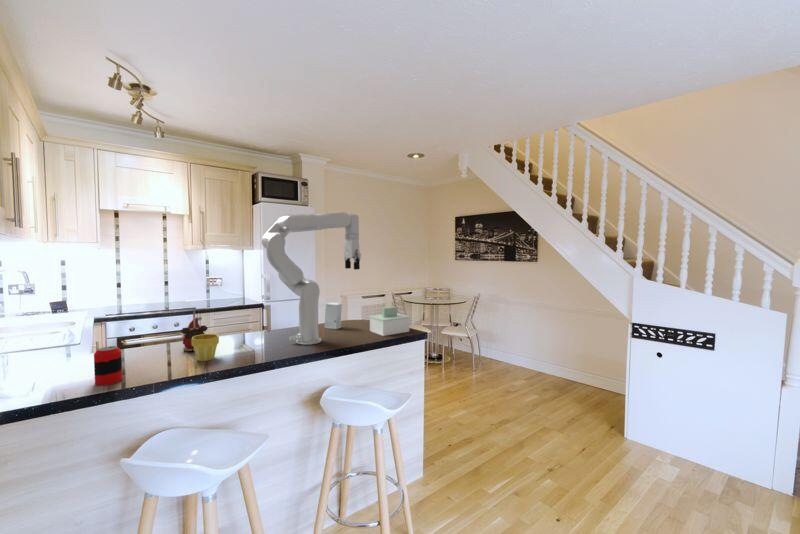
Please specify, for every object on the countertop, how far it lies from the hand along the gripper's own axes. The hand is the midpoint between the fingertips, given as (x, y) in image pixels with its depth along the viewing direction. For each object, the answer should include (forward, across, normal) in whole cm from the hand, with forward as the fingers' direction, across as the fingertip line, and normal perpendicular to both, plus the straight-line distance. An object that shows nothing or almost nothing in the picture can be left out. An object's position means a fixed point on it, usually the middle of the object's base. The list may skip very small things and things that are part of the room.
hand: (352, 268), depth 197 cm
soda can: (+36, +12, -104) cm, 111 cm away
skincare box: (+37, -22, -1) cm, 43 cm away
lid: (+30, +4, +22) cm, 37 cm away
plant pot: (+36, +2, -72) cm, 81 cm away
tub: (+37, +4, +22) cm, 43 cm away
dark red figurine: (+36, -17, -74) cm, 84 cm away
